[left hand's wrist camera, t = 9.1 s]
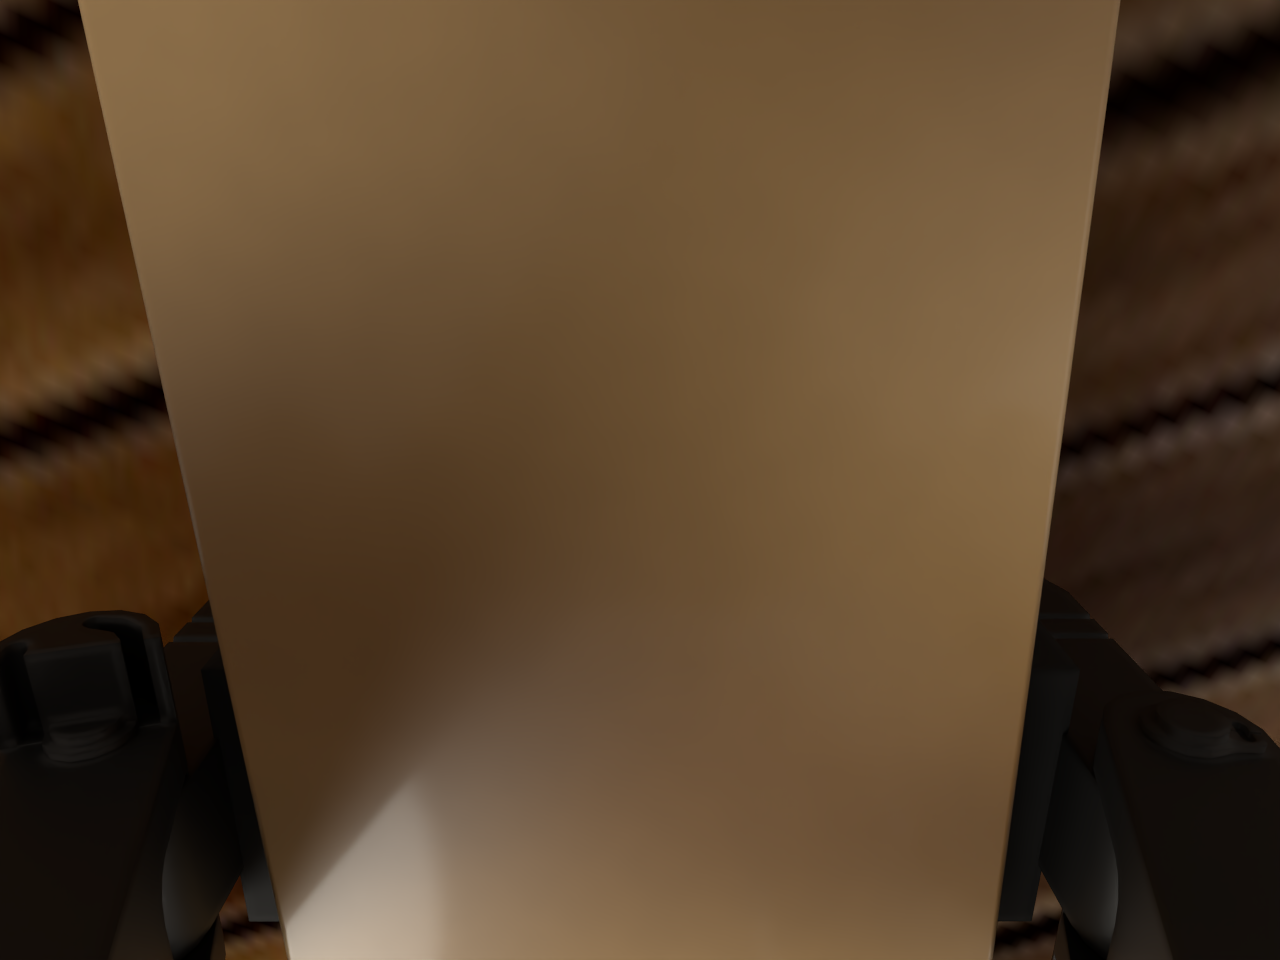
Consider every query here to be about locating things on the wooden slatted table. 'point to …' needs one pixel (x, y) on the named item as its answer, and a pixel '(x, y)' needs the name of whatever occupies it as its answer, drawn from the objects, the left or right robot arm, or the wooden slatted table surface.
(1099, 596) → the wooden slatted table surface
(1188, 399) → the wooden slatted table surface
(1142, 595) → the wooden slatted table surface
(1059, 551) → the wooden slatted table surface
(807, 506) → the post
